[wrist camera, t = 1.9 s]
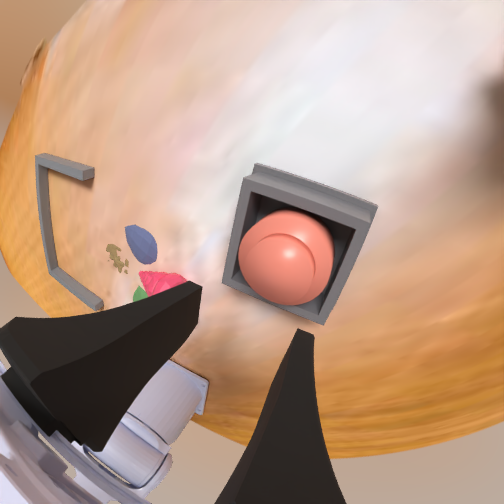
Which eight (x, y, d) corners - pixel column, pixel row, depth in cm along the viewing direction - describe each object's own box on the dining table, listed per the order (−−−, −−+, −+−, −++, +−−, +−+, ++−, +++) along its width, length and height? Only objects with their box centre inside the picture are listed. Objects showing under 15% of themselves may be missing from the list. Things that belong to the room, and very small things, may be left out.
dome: (317, 297, 17) (307, 328, 15) (245, 268, 19) (223, 292, 16) (347, 226, 15) (344, 248, 12) (263, 195, 16) (241, 209, 13)
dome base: (333, 306, 19) (326, 332, 17) (234, 265, 21) (215, 285, 19) (377, 205, 15) (380, 219, 13) (257, 163, 17) (238, 168, 15)
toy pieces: (170, 205, 22) (133, 222, 18) (213, 321, 25) (188, 351, 21) (95, 229, 27) (65, 245, 23) (132, 316, 30) (108, 337, 27)
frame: (103, 305, 32) (95, 311, 30) (56, 269, 34) (49, 273, 33) (94, 167, 23) (82, 171, 22) (44, 153, 26) (35, 155, 24)
